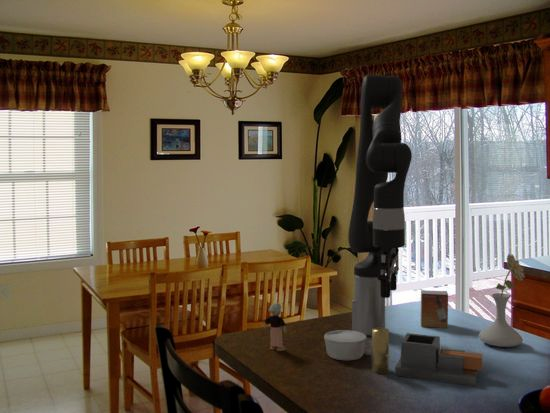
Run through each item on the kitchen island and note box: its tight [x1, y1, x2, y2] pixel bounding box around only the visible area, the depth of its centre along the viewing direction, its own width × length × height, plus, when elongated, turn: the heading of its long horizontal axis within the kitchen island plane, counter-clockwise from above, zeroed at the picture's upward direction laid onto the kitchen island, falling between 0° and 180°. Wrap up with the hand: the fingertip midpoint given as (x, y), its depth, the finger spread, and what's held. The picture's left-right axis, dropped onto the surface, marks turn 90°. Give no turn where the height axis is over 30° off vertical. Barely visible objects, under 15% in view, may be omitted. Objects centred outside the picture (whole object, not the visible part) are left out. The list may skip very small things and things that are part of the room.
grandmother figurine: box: [262, 302, 288, 352], centre depth 154 cm, size 8×4×13 cm, turn 65°
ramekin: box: [323, 329, 368, 361], centre depth 149 cm, size 11×11×5 cm
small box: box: [419, 289, 449, 329], centre depth 175 cm, size 8×6×10 cm
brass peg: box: [371, 327, 390, 374], centre depth 137 cm, size 4×4×10 cm
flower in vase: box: [478, 253, 526, 348], centre depth 156 cm, size 13×11×25 cm
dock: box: [394, 332, 479, 387], centre depth 136 cm, size 18×12×8 cm, turn 67°
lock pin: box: [440, 350, 483, 372], centre depth 133 cm, size 9×3×3 cm, turn 67°
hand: (388, 293), depth 136 cm, fingers open, 8 cm apart
